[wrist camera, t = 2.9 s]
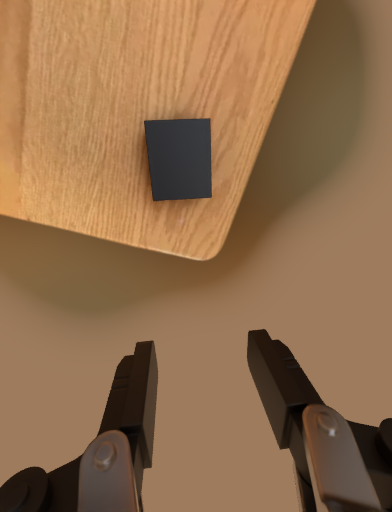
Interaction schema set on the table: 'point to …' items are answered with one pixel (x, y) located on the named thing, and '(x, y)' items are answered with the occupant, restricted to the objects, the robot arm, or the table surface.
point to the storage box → (179, 158)
